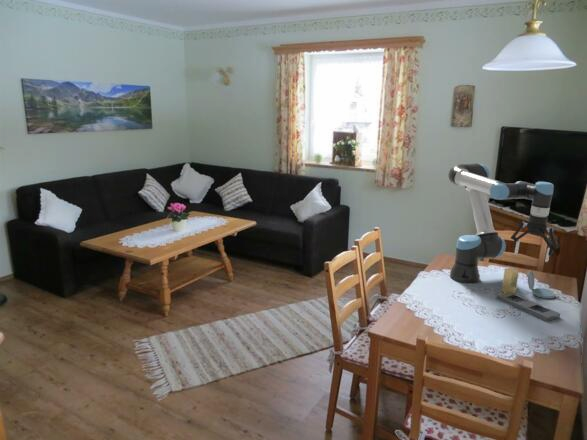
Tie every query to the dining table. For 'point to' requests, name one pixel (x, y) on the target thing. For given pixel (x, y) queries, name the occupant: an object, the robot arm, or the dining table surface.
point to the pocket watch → (539, 291)
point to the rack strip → (528, 306)
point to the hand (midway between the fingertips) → (530, 257)
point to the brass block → (510, 280)
